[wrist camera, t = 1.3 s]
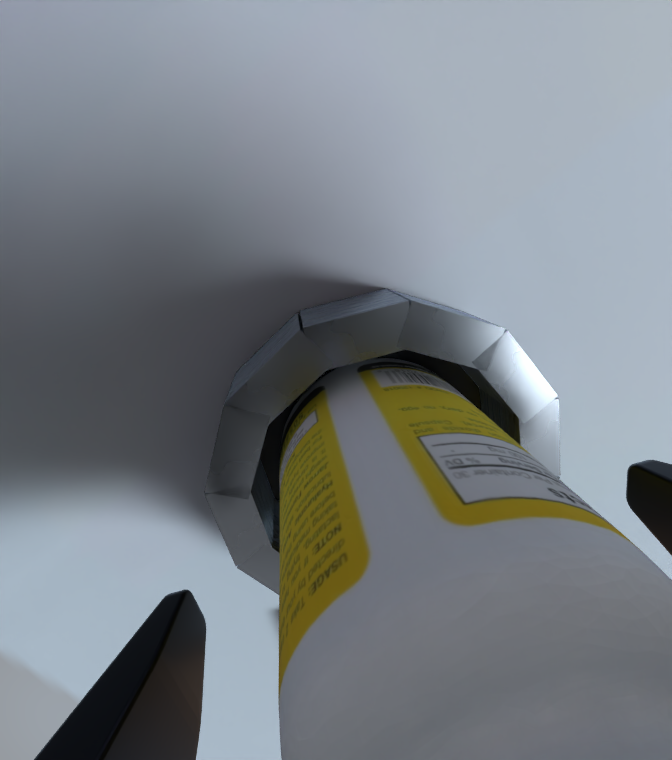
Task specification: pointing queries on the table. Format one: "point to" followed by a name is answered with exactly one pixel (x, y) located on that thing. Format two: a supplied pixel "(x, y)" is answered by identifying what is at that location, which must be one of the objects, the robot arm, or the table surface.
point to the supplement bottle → (454, 590)
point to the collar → (347, 346)
